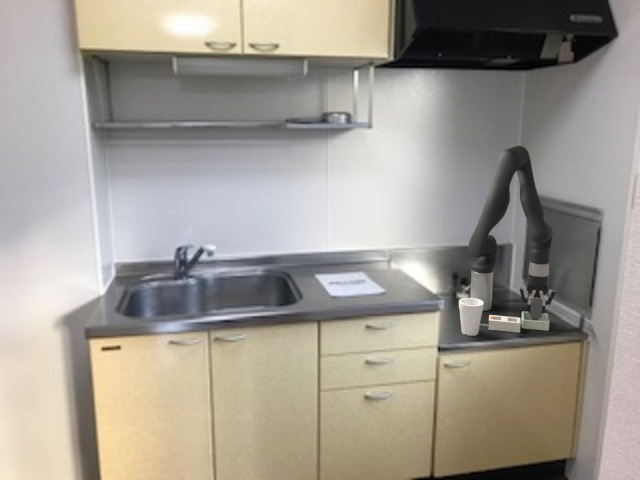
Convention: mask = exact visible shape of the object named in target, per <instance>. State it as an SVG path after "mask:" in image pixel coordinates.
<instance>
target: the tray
mask: <svg viewBox="0 0 640 480" xmlns="http://www.w3.org/2000/svg"><path fill="white" fill-rule="evenodd" d="M520 322H521V328H522V329H526V330H538V331H539V330H540V331H546V332H547V331H548V332H549V331H550V319H549V314H548V313H546V312H545V313H543V314H542V317H541V318H539V320H538V321H535V320H532V317H530V313H529V312H527V311H521V317H520Z"/></svg>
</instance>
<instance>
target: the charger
mask: <svg viewBox="0 0 640 480" xmlns="http://www.w3.org/2000/svg"><path fill="white" fill-rule="evenodd" d="M542 304H543V301H541V298H538V297H533V299H532V300H531V310H530V317H532V320H535V321H538V320H539V318H541V317H542Z"/></svg>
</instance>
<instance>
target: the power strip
mask: <svg viewBox="0 0 640 480" xmlns="http://www.w3.org/2000/svg"><path fill="white" fill-rule="evenodd" d="M521 325H522V322H521V317H517V316H506V315H504V316H503V315H496V314H495V315H494V314H493V315H492V314H489V316H488V324H487V323H486V324H485V323H480V326H479V327H483V328H487V329H488V330H490V331H498V332H500V331H501V332H508V333H517V334H519V333H521Z"/></svg>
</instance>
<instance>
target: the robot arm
mask: <svg viewBox="0 0 640 480" xmlns="http://www.w3.org/2000/svg"><path fill="white" fill-rule="evenodd" d="M496 162H497V163H496V167H495V172H494V176H493V180H492V181H491V184H490V185H491V186H490V188H489V191H488V194H487V196H486V199H485V201H484V205H483V208H482V211H481V214H480V217H479V219H478V222H477V224H476V227H475V228H474V231H473V233H472V234H471V237H470V240H469V242H468V252H469V254H470V255H471V256H472V257H474V258H478V259H477V260H476V261H474V262H473V263H472V265H471V274H470V276H471V277H470V279H471V280H470V297H469V298H475V299H479V300H482V301H483V302H484V304H483V310H482V312H483V311H489V310H491V309H492V301H493V283H494V282H493V281H494V269H495V266H496V262H497V254H498V242H497V239H496V238H495V236H494V235H492V234H490V233H491V231H492V230H493V229H494V228H495V227H496V226H497V225H498V224H499V223H500V222H501V221H502V220H503V219H504V217H505V215H506V213H507V211H508V208H509V205H510V202H511V193H510V192H511V191H510V190H511V188H510V187H511V186H510V185H511V182H512V180H513V177H514V175H515V173H516V174H517V177H518V180H519V201H520V204H521V207H522V210H523V213H524V216H525V218H526V223H527V224H526V225H527V230H528V233H529V237H530V238H531V240H532V241H533V245H532V248H531V250H530V255H529V256H530V258H529V259H530V260H529V265H528V278H527V285H526V286H525V287H519V293H520V296H521V300H522V302H523V304H524V303H525V304H526V312H529V313H530V310H531V300H532V299H533V297H538V298H541V301H543V304H542V314H543V313H545V314H546V306H547V305H548V306H549V305H551V303H552V301H553V299H554V297H555V294H556V291H555V290H554V289H551V288H550V287H549V286H548V285H549V276H550V252H551V251H550V250H551V246H552V243H553V233H554V232H553V228H552V226H551V225H550V224H548V223H546V221H545V219H544V218H545V212H544V207H543V205H542V202H541V199H540V196H539V194H538V191H537V186H536V182H535V178H534V177H535V176H534V172H533V168H532V167H533V166H532V161H531V157H530V153H529V151H528V149H527V148H526V147H525V146H522V145H514V146H512V147H508V148H506V149H504V150H502V152H500V154H499V156H498V158H497V161H496ZM526 291H527V292H528V293H529V295H528V298H526V295H525V294H526ZM547 293H548V295H549V296H548V298H547V300H545V295H546V294H547Z"/></svg>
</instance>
